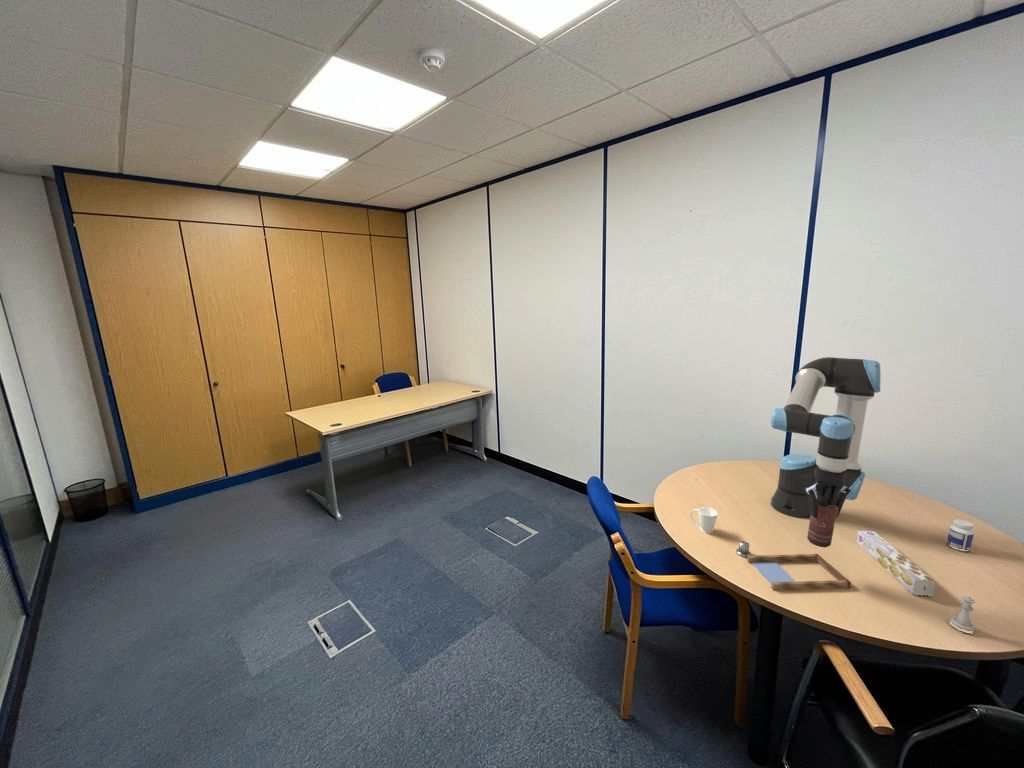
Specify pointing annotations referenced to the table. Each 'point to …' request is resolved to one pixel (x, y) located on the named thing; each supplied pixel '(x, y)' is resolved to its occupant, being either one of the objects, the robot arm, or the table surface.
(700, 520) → the cup
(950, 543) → the pill bottle
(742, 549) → the grey metal knob
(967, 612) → the chess piece
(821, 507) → the can
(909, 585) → the box
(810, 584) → the frame
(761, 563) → the front pad
